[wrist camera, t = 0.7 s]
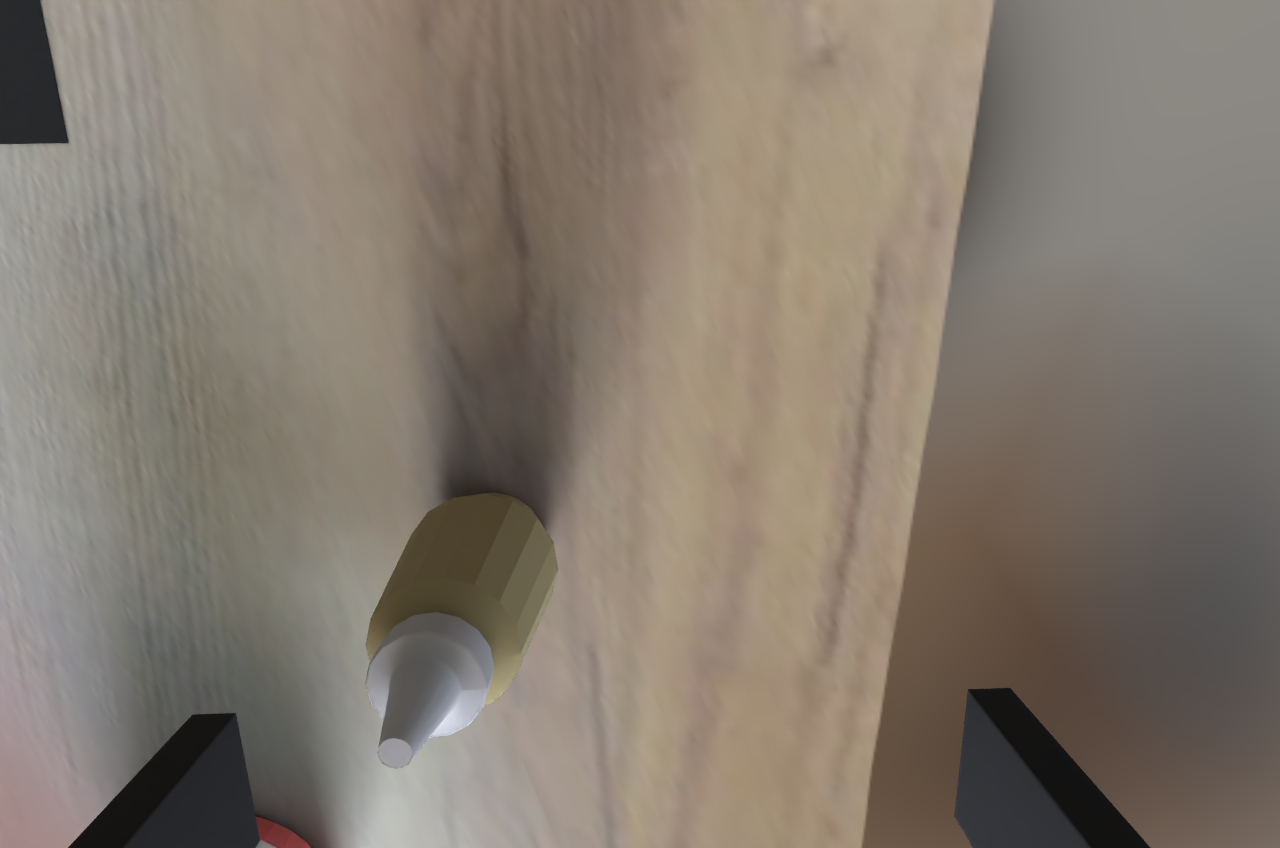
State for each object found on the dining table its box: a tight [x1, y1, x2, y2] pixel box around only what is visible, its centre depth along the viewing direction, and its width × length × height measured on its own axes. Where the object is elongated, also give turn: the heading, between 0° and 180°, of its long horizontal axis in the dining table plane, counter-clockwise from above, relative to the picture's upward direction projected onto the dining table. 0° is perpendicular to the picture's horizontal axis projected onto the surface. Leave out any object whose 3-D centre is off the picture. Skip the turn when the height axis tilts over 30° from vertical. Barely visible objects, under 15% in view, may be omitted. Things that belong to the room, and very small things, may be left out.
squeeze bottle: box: [366, 492, 558, 769], centre depth 32 cm, size 8×8×18 cm
